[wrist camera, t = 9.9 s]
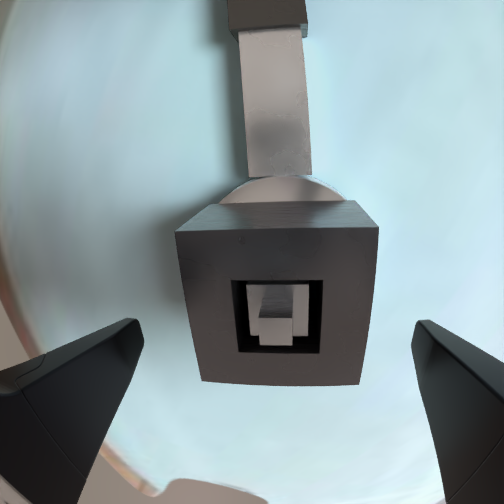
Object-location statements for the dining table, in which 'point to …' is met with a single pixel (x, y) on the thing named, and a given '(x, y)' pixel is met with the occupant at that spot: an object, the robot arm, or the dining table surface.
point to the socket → (279, 268)
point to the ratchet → (276, 146)
